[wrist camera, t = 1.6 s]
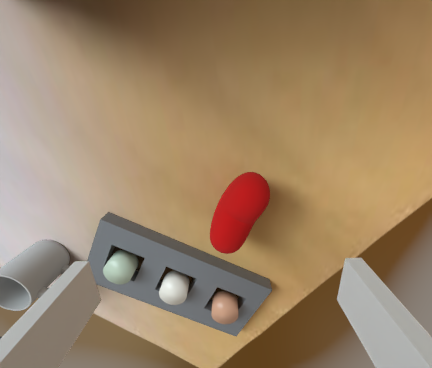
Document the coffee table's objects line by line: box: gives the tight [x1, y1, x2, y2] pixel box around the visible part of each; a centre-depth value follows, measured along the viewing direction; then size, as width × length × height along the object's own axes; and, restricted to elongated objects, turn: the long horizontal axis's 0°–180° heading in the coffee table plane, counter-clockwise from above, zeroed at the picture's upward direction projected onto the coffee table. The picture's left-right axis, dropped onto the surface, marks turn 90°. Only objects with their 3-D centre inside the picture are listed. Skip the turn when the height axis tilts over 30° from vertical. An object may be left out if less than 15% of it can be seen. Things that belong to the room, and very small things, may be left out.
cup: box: [0, 240, 70, 311], centre depth 36 cm, size 7×10×9 cm
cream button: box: [159, 271, 189, 305], centre depth 38 cm, size 5×5×3 cm
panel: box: [87, 212, 272, 336], centre depth 40 cm, size 32×14×2 cm, turn 64°
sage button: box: [103, 250, 139, 284], centre depth 37 cm, size 5×5×3 cm
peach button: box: [211, 291, 238, 324], centre depth 39 cm, size 5×5×3 cm
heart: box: [210, 172, 270, 254], centre depth 30 cm, size 12×5×10 cm, turn 154°
